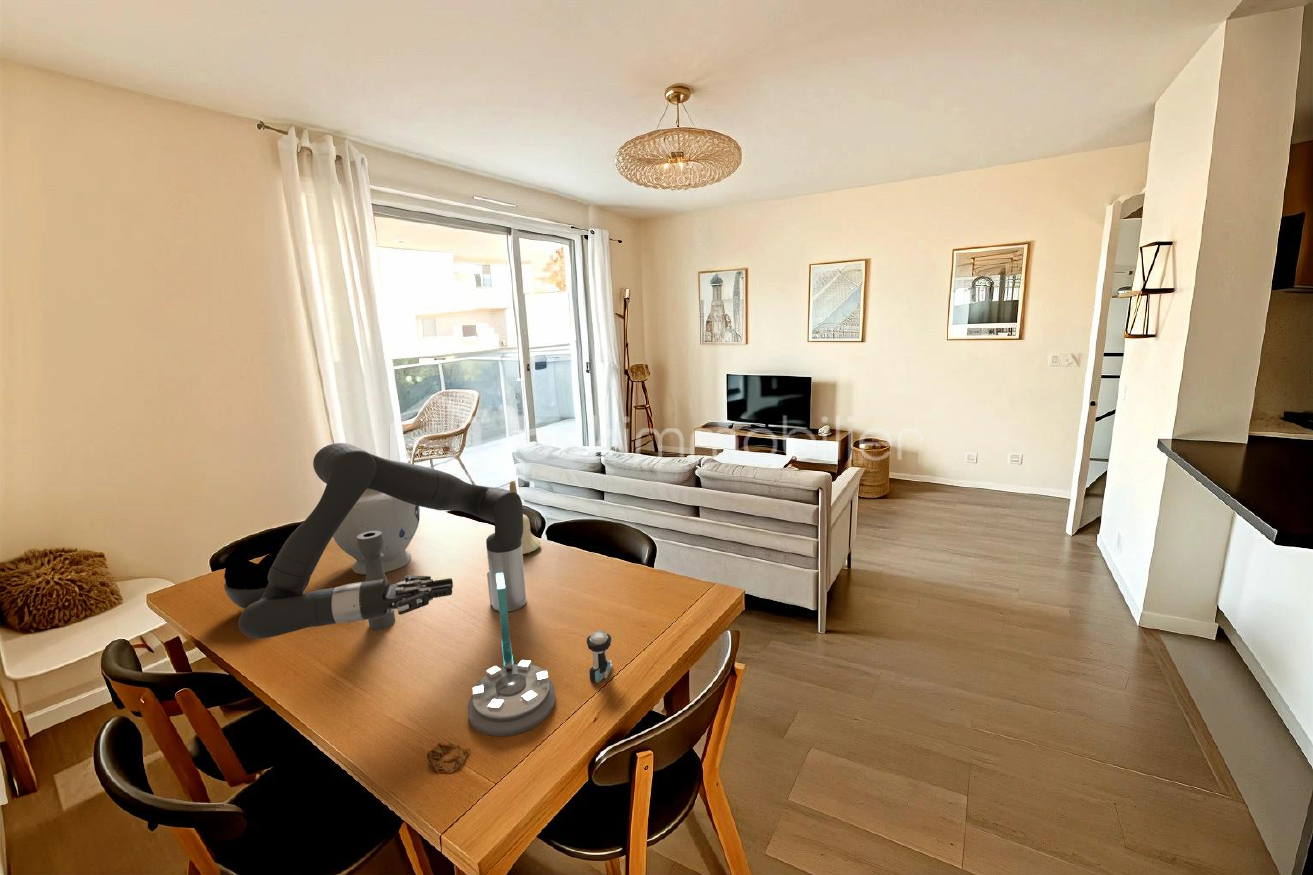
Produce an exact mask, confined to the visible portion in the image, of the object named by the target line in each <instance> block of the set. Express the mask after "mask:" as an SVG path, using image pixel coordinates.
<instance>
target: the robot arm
mask: <svg viewBox="0 0 1313 875" xmlns="http://www.w3.org/2000/svg"><path fill="white" fill-rule="evenodd" d="M312 465H313V470H314V472H315V474H316V475H317V477H318V478H319V479H320V480H321V481H322V482H323V483H325V484H326V485H325V488H324V491H323V493H322V495H321V498H320V499H319V501H318V503H317V505H316V506H315V507H314V509H313V510H312V512H311V513H310V514H309V515H308V516H307V517H306V518H305V519H304V520H303V521H302V522H301V523H300V524H299V525H298V526H297V527H296V529H295V530H293V531H292V532H291V534H290V535H289V537H288V538H286V542H285V543H284V545H283V546H282V548H281V550H280V552H279V554H278V555H277V557H276V559H275V561H274V563H273V565H272V567H271V569H270V571H269V573H268V581H269V583H268V585H267V587H266V589H265V591H264V593H263V595H262V597H261V598H260V600H259V601H256V602H254V603H252V604H251V605H249V606H248V607H247V608H246V609H243V610H242V612H241V613H240V616H239V618H238V621H237V623H238V624H237V625H238V629H239V630H240V632H241V633H242V634H243V635H245V637H248V638H250V639H258V640H259V639H260V640H261V639H268V638H272V637H277V636H283V635H286V634H289V633H293V632H296V631H300V630H303V629H307V628H315V627H321V626H327V625H328V626H329V625H334V624H340V623H341V624H343V623H353V622H358V621H365V620H368V619H372V618H377V617H383V616H387V615H388V613H389V611H390V609H394V610H395V609H396V610H397V613H398V615H399V616H400V615H401V616H402V615H405V614H407V613H409V612H412V611H414V610H418V609H420V608H423V607H425V606H427V605H429V604H430V602H431V601H433V600H434V599H436V598H443V597H449V596H452V595H453V587H454V581H453V579H452V578H448V577H447V578H442V579H436V580H434V579H432V577H431V576H429V575H409V574H408V575H407V574H406V575H405V576H404V581H399V582H396V583H392V584H390V583H389V581H388V579H387V580H386V579H378V580H372V581H366V580H365V581H359V582H353V583H346V584H344V585H340V586H336V587H330V588H323V589H317V590H313V591H309V592H305V593H304V591H305V590H304V588H305V585H306V583H307V582H308V580H309V579H311V577H312V575H313V573H314V571H315V569H316V567H317V565H318V563H319V562H320V559H321V558H322V556H323V553H325V551H326V548H327V546H328V545H329V543H330V541H331V540H332V538H333V535H334V534H335V532H336V531H337V529H338V528H339V526H340V525H341V523H342V522H343V520H344V519H345V518H346V516H347V515H348V513H349V512H350V511H351V509H352V508H353V506H354V505H355V504H356V502H357V501H358V500H359V498H360V497H361V496H362V494H363V493H364V492H365V490H366V489H367V488H368V489H372V490H376V491H379V492H382V493H384V494H387V495H389V496H391V497H394V498H396V499H399V500H401V501H404V502H407V503H410V504H414V505H417V506H419V507H420V508H427V509H431V510H436V511H437V510H438V511H458V512H459V511H460V512H463V513H465V514H470V515H473V516H475V517H478V518H480V519H482V520H484V521H487V522H491V523H494V533H491V534H489V535H488V537H487V538H486V540H485V541H486V542H485V543H486V554H487V561H488V562H487V565H488V571H487V574H486V577H487V586H488V597H489V605H491V606H492V609H493V610H495V611H497V612H499V602H498V591H497V581H496V574H497V573H503V576H504V583H505V592H506V602H507V613H508V612H513V611H516V610H519V609H521V608H523V607H524V606H525V605H526V603H527V593H526V592H527V591H526V590H527V589H526V579H525V569H524V554H522V543H521V538H522V535H523V514H524V508H523V507H524V506H523V502H522V498H521V496H520V495H519V494H518V492H517V493H515V492H513V491H510V489H509V490H508V489H504V488H499V487H493V486H485V485H484V486H482V485H477V484H472V483H469V482H466V481H464V480H462V479H461V478H459V477H457V476H455V475H453V474H451V473H448V472H445V471H442V470H438V469H435V468H433V467H432V468H431V467H427V466H422V465H419V464H414V463H409V462H405V461H397V460H393V459H388V458H384V457H381V456H378V455H375V454H373V453H370V452H368V451H366V450H364V449H362V448H360V447H358V446H356V445H353V444H350V443H347V442H336V443H335V442H334V443H331V444H327V445H325V446H323V447H321V449H319V451H317V452H316V454H315V455H314V458H313V462H312ZM309 581H310V580H309ZM388 583H389V584H388ZM303 593H304V594H303Z"/></svg>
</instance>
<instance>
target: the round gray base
mask: <svg viewBox="0 0 1313 875" xmlns="http://www.w3.org/2000/svg"><path fill="white" fill-rule="evenodd" d="M549 689H550V690H549V695H548V698H547V700H546V701H545V703H544V704H543V705H542V706H541V707H540V708H539V709H537V710H536V711H535V712H533V713H531V714H530V715H527V716H525V717H523V718H520V719H517V720H513V721H507V722H494V721H489V720H486V719H483V718H482V717H480V716H479V715H478V714H477V713H476V712H475V710H474V707H473V698H472V695H471V696H470V697H469V700H468V705H467V709H468V717H469V722H470V724H471V727H473V728H474V729H475V730H476V731H478V732H479V733H480V734H484V735H486V736H491V737H508V736H515V735H518V734H521V733H525V732H527V731H529V730H532V729H533V728H535V727H537V726H538V725H540V724H541V723H542V722H543V721H544V720H545V719H546V718H548V716H549V715H550V714H551V713H552V711H553V709H554V707H555V703H556V692H555V691H556V690H555V685H554V682H553V681H552V680H551V679H550V678H549Z"/></svg>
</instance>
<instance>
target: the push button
mask: <svg viewBox="0 0 1313 875" xmlns="http://www.w3.org/2000/svg"><path fill="white" fill-rule="evenodd" d="M611 642H612V636H611V635H610V633H607V632H606V631H604V630H596V631H594V632H592V633H590V635H589V636H588V637H587V638H586V645H587V648H588V649H589V650H590V651H591V652H592V661H593V662H592V667H590V669H589V680H590V681H592V682H595V683H597V684H599V683H600V682H601V681H602V680H603V679H607V678H608V676H609V674H610V673H611V668H612V666H613V660H612V659H609V660H608V656H607V650H609V648H610V647H611Z"/></svg>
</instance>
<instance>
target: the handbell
mask: <svg viewBox="0 0 1313 875" xmlns="http://www.w3.org/2000/svg"><path fill="white" fill-rule="evenodd" d="M517 489H518V488H517V485H516V482H515V480H511V481H510V482H509V491H513V492H515V493H517V494H518V491H517ZM530 523H531V522H530V519H529V517H528V516H527V515H526V514H524V513H523V535H522V538H521V543H522V555H524V554H530V553H531V552H533V551H535V550H537V549H538V548H539V547H540V545H541V541H540V539H539V538H538V537H536V536H535V535H534V534H533V533H532V531H531V524H530Z"/></svg>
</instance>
